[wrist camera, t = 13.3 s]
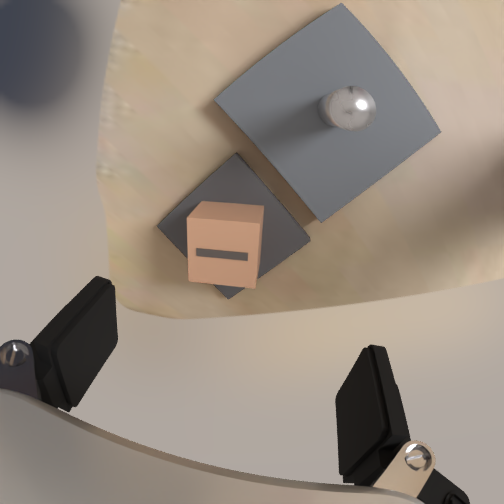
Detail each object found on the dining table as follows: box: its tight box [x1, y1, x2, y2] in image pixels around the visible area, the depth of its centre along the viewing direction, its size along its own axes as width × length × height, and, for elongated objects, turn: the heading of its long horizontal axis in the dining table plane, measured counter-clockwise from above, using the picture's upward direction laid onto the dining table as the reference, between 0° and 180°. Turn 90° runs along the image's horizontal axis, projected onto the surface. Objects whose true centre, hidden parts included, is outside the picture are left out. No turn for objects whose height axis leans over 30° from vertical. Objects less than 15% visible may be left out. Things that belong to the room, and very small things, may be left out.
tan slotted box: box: [187, 201, 264, 288], centre depth 29 cm, size 6×6×5 cm
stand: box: [214, 3, 441, 223], centre depth 26 cm, size 15×15×2 cm
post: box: [318, 86, 376, 131], centre depth 21 cm, size 3×3×8 cm
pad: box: [157, 153, 310, 299], centre depth 32 cm, size 11×11×1 cm
